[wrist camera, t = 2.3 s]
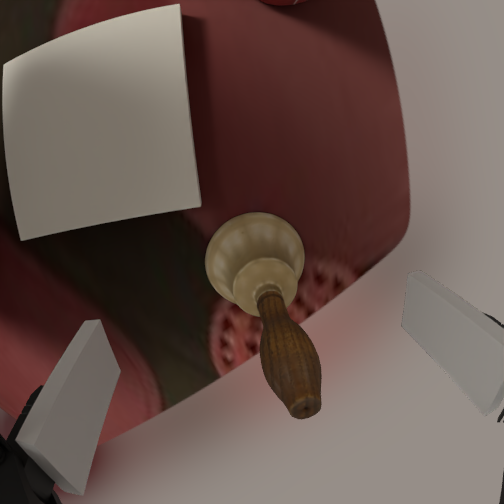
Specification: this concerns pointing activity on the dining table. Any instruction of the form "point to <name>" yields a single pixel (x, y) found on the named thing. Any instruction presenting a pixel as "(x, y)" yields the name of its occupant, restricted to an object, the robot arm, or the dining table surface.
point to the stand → (100, 125)
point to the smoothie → (282, 2)
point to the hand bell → (269, 301)
